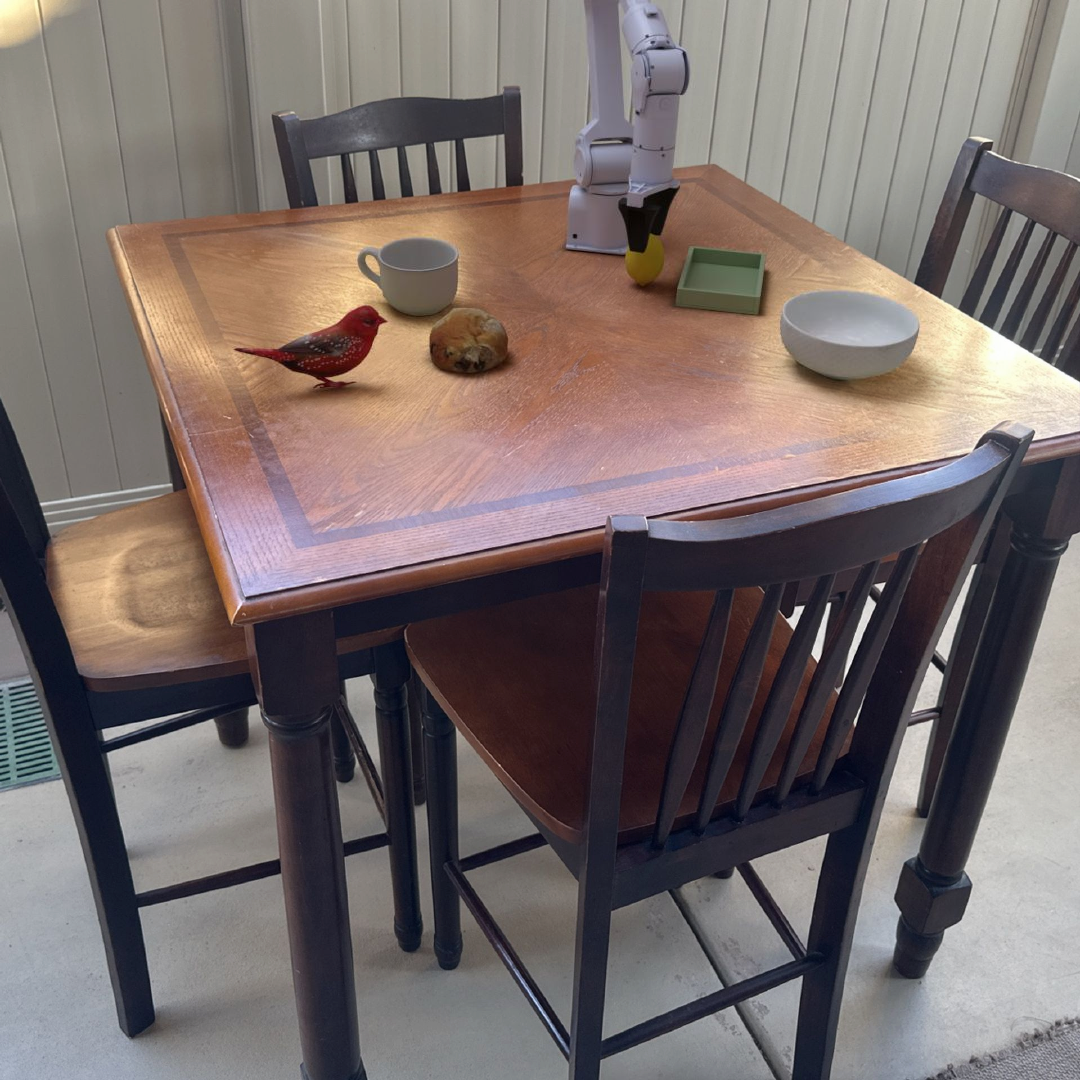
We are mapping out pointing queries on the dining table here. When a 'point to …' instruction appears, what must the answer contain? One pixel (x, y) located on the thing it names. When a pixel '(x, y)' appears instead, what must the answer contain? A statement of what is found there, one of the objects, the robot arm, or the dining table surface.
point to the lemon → (646, 262)
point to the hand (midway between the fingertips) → (645, 242)
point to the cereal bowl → (848, 333)
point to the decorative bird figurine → (329, 347)
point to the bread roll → (468, 341)
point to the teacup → (415, 274)
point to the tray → (721, 280)
